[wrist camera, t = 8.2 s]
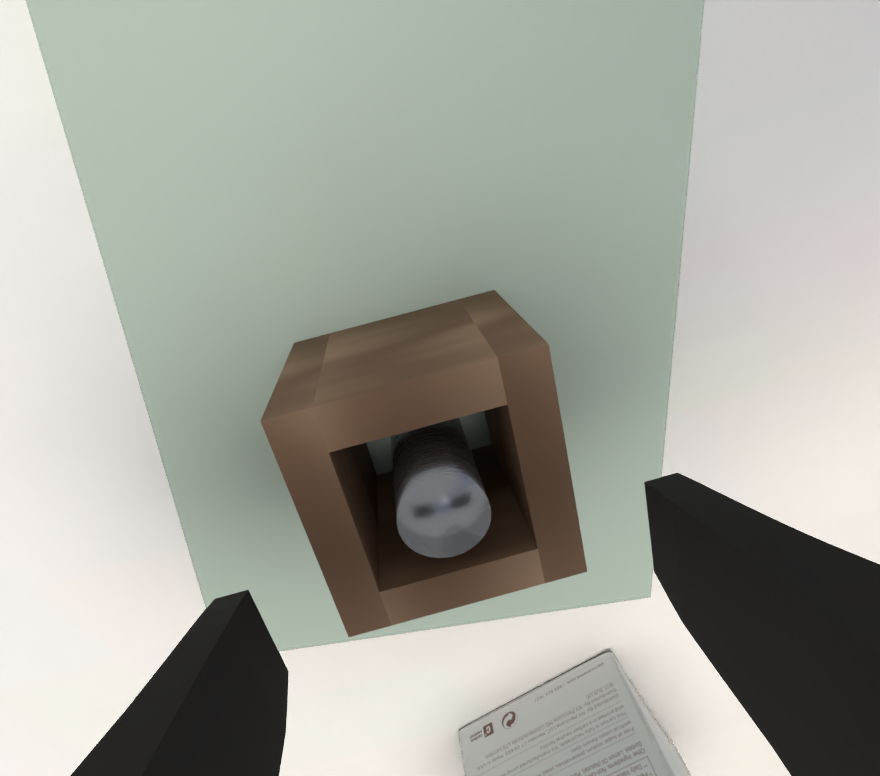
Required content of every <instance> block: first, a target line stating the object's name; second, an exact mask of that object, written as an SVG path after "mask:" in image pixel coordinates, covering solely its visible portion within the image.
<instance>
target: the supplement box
mask: <svg viewBox="0 0 880 776" xmlns="http://www.w3.org/2000/svg"><path fill="white" fill-rule="evenodd" d="M459 740H460V746H461V752H462V759H463V765H464V771H465V776H691V774H690V773H689V771H688V769H687V767H686V765H685V763H684V761H683V759H682V758H681V756H680V754H679V752H678V750H677V749H676V747H675V746H674V744H673V743H672V742H671V740H670V739H669V738H668V737H667V735H666V734H665V733H664V731H663V730H662V729H661V727H660V726H659V725H658V723H657V722H656V720H655V719H654V717H653V716H652V714H651V713H650V711H649V710H648V708H647V707H646V705H645V704H644V702H643V701H642V699H641V698H640V696H639V695H638V693H637V692H636V690H635V689H634V687H633V685H632V684H631V682H630V681H629V679H628V677H627V676H626V674H625V672H624V671H623V669H622V668H621V666H620V664H619V663H618V661H617V659H616V657H615V656H614V654H613V653H612V652H608V653H603V654H601V655H599V656H598V657H596V658H594V659H591V660H589V661H587V662H585V663H583V664H581V665H579V666H577V667H576V668H574V669H572V670H570V671H568V672H566V673H564V674H562V675H560V676H559V677H557V678H555V679H553V680H551V681H549V682H547V683H545V684H543V685H541V686H539V687H537V688H536V689H534V690H532V691H530V692H528V693H526V694H524V695H522V696H520V697H519V698H517V699H515V700H513V701H511V702H509V703H507V704H505V705H504V706H502V707H500V708H498V709H496V710H494V711H492V712H491V713H489V714H487V715H485V716H483V717H481V718H479V719H478V720H476V721H474V722H472V723H470V724H469V725H467V726H465V727H464V728H462V729H461V730H460V731H459Z"/></svg>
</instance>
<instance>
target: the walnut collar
mask: <svg viewBox="0 0 880 776" xmlns="http://www.w3.org/2000/svg"><path fill="white" fill-rule="evenodd" d="M482 411H484V412H485V416H486V420H487V425H488V429H489V433H490V438H491V442H492V444H491V445H488V446H484V447H480V448H476V449H473V450H471V452H472V455H473V458H474V461H475V464H476V466H477V469H478V472H479V475H480V478H481V481H482V483H483V486H484V489H485V492H486V495H487V498H488V500H489V503H490V507H491V522H490V525H489V528H488V530H487V532H486V534H485V535H484V537H483V538H482V539H481V541H480V542H479V543H478V544H476V545H475V546H474V547H473V548H471V549H470V550H468V551H466V552H464V553H462V554H460V555H456V556H453V557H447V558H434V557H428V556H424V555H422V554H419V553H417V552H415V551H414V550H412V549H411V548H409V547H408V546H407V545H406V544H405V542H404V541H403V540H402V538H401V536H400V534H399V532H398V528H397V519H396V506H395V493H394V479H393V471H391V472H388V473H384V474H380V475H377V474H376V471H375V468H374V465H373V462H372V459H371V456H370V453H369V450H368V447H367V444H366V442H370V441H374V440H378V439H381V438H385V437H389V436H392V435H396V434H400V433H404V432H407V431H411V430H415V429H418V428H422V427H426V426H430V425H433V424H437V423H441V422H444V421H448V420H452V419H456V418H459V417H463V416H467V415H471V414H474V413H478V412H482ZM260 422H261V424H262V427H263V429H264V431H265V434H266V436H267V439H268V441H269V444H270V446H271V449H272V451H273V453H274V456H275V458H276V461H277V463H278V466H279V468H280V471H281V473H282V475H283V478H284V480H285V483H286V485H287V488H288V490H289V493H290V495H291V498H292V500H293V502H294V505H295V507H296V510H297V512H298V515H299V517H300V520H301V522H302V524H303V527H304V529H305V532H306V534H307V537H308V539H309V542H310V544H311V546H312V549H313V551H314V554H315V556H316V559H317V561H318V564H319V566H320V568H321V571H322V573H323V576H324V578H325V581H326V583H327V586H328V588H329V591H330V593H331V595H332V598H333V600H334V603H335V605H336V608H337V610H338V613H339V615H340V617H341V620H342V622H343V625H344V627H345V630H346V632H347V635H348V637H352V636H356V635H359V634H363V633H367V632H370V631H374V630H378V629H381V628H385V627H388V626H392V625H396V624H399V623H403V622H407V621H410V620H414V619H418V618H421V617H425V616H428V615H432V614H436V613H439V612H443V611H447V610H450V609H454V608H458V607H461V606H465V605H468V604H472V603H476V602H479V601H483V600H487V599H490V598H494V597H497V596H501V595H505V594H508V593H512V592H516V591H519V590H523V589H527V588H530V587H534V586H537V585H541V584H545V583H548V582H552V581H556V580H559V579H563V578H567V577H570V576H574V575H577V574H581V573H585V572H587V566H586V560H585V554H584V548H583V543H582V537H581V531H580V525H579V519H578V513H577V507H576V501H575V495H574V490H573V484H572V478H571V472H570V466H569V460H568V454H567V448H566V442H565V437H564V431H563V425H562V419H561V413H560V407H559V401H558V395H557V389H556V384H555V378H554V372H553V366H552V360H551V354H550V348H549V344H548V343H547V342H546V341H545V340H544V339H543V338H542V337H541V336H540V335H539V334H538V333H537V332H536V331H535V330H534V329H533V328H532V327H531V326H530V325H529V324H528V323H527V322H526V321H525V320H524V319H523V318H522V317H521V316H520V315H519V314H518V313H517V312H516V311H515V310H514V309H513V308H512V307H511V306H510V305H509V304H508V303H507V302H506V301H505V300H504V299H503V298H502V297H501V296H500V295H499V294H498V293H497V292H496V291H495V290H492V291H488V292H484V293H480V294H476V295H473V296H469V297H465V298H461V299H458V300H454V301H450V302H446V303H443V304H439V305H435V306H431V307H427V308H424V309H420V310H416V311H412V312H409V313H405V314H401V315H397V316H393V317H390V318H386V319H382V320H378V321H375V322H371V323H367V324H363V325H359V326H356V327H352V328H348V329H344V330H341V331H337V332H333V333H329V334H325V335H322V336H318V337H314V338H310V339H307V340H303V341H299V342H295V343H294V344H293V346H292V349H291V351H290V353H289V356H288V358H287V360H286V363H285V365H284V367H283V370H282V372H281V374H280V376H279V379H278V381H277V383H276V386H275V388H274V390H273V393H272V395H271V397H270V400H269V402H268V404H267V407H266V409H265V411H264V414H263V416H262V418H261V421H260Z"/></svg>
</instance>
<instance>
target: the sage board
mask: <svg viewBox="0 0 880 776" xmlns="http://www.w3.org/2000/svg"><path fill="white" fill-rule="evenodd" d="M26 3H27V6H28V10H29V13H30V16H31V20H32V23H33V27H34V30H35V33H36V37H37V40H38V43H39V47H40V50H41V54H42V57H43V60H44V64H45V67H46V70H47V74H48V77H49V81H50V84H51V87H52V91H53V94H54V97H55V101H56V104H57V108H58V111H59V114H60V118H61V121H62V124H63V128H64V131H65V134H66V138H67V141H68V145H69V148H70V151H71V155H72V158H73V161H74V165H75V168H76V172H77V175H78V178H79V182H80V185H81V188H82V192H83V195H84V199H85V202H86V205H87V209H88V212H89V215H90V219H91V222H92V226H93V229H94V232H95V236H96V239H97V242H98V246H99V249H100V253H101V256H102V259H103V263H104V266H105V269H106V273H107V276H108V279H109V283H110V286H111V290H112V293H113V296H114V300H115V303H116V306H117V310H118V313H119V317H120V320H121V323H122V327H123V330H124V333H125V337H126V340H127V344H128V347H129V350H130V354H131V357H132V360H133V364H134V367H135V371H136V374H137V377H138V381H139V384H140V387H141V391H142V394H143V398H144V401H145V404H146V408H147V411H148V414H149V418H150V421H151V424H152V428H153V431H154V435H155V438H156V441H157V445H158V448H159V451H160V455H161V458H162V462H163V465H164V468H165V472H166V475H167V478H168V482H169V485H170V489H171V492H172V495H173V499H174V502H175V505H176V509H177V512H178V516H179V519H180V522H181V526H182V529H183V532H184V536H185V539H186V543H187V546H188V549H189V553H190V556H191V559H192V563H193V566H194V569H195V573H196V576H197V580H198V583H199V586H200V590H201V593H202V596H203V600H204V603H205V607H206V608H207V607H208V606H209V605H210V604H211V603H212V601H213V600H214V599H216V598H219V597H223V596H227V595H230V594H234V593H238V592H241V591H245V590H249V592H250V594H251V596H252V598H253V600H254V602H255V604H256V606H257V608H258V610H259V612H260V614H261V617H262V619H263V621H264V623H265V625H266V627H267V629H268V631H269V633H270V635H271V637H272V639H273V641H274V643H275V645H276V647H277V649H278V651H285V650H292V649H299V648H306V647H313V646H319V645H326V644H333V643H340V642H347V641H354V640H361V639H367V638H374V637H381V636H388V635H395V634H402V633H409V632H415V631H422V630H429V629H436V628H443V627H450V626H457V625H463V624H470V623H477V622H484V621H491V620H498V619H505V618H511V617H518V616H525V615H532V614H539V613H546V612H553V611H559V610H566V609H573V608H580V607H587V606H594V605H601V604H607V603H614V602H621V601H628V600H635V599H642V598H648V597H651V587H652V575H653V557H652V548H651V539H650V530H649V521H648V512H647V503H646V494H645V485H644V482H646V481H649V480H653V479H657V478H660V477H661V475H662V464H663V453H664V442H665V430H666V419H667V408H668V397H669V386H670V375H671V364H672V352H673V341H674V330H675V319H676V308H677V297H678V286H679V274H680V263H681V252H682V241H683V230H684V219H685V207H686V196H687V185H688V174H689V163H690V152H691V141H692V129H693V118H694V107H695V96H696V85H697V74H698V63H699V51H700V40H701V29H702V18H703V7H704V0H26ZM492 290H495V291H496V292H497V293H498V294H499V295H500V296H501V297H502V298H503V299H504V300H505V301H506V302H507V303H508V304H509V305H510V306H511V307H512V308H513V309H514V310H515V311H516V312H517V313H518V314H519V315H520V316H521V317H522V318H523V319H524V320H525V321H526V322H527V323H528V324H529V325H530V326H531V327H532V328H533V329H534V330H535V331H536V332H537V333H538V334H539V335H540V336H541V337H542V338H543V339H544V340H545V341H546V342H547V343H548V344H549V348H550V354H551V360H552V366H553V372H554V378H555V384H556V389H557V395H558V401H559V407H560V413H561V419H562V425H563V431H564V437H565V442H566V448H567V454H568V460H569V466H570V472H571V478H572V484H573V490H574V495H575V501H576V507H577V513H578V519H579V525H580V531H581V537H582V543H583V548H584V554H585V560H586V566H587V572H585V573H581V574H577V575H574V576H570V577H567V578H563V579H559V580H556V581H552V582H548V583H545V584H541V585H537V586H534V587H530V588H527V589H523V590H519V591H516V592H512V593H508V594H505V595H501V596H497V597H494V598H490V599H487V600H483V601H479V602H476V603H472V604H468V605H465V606H461V607H458V608H454V609H450V610H447V611H443V612H439V613H436V614H432V615H428V616H425V617H421V618H418V619H414V620H410V621H407V622H403V623H399V624H396V625H392V626H388V627H385V628H381V629H378V630H374V631H370V632H367V633H363V634H359V635H356V636H352V637H348V635H347V632H346V630H345V627H344V625H343V622H342V620H341V617H340V615H339V613H338V610H337V608H336V605H335V603H334V600H333V598H332V595H331V593H330V591H329V588H328V586H327V583H326V581H325V578H324V576H323V573H322V571H321V568H320V566H319V564H318V561H317V559H316V556H315V554H314V551H313V549H312V546H311V544H310V542H309V539H308V537H307V534H306V532H305V529H304V527H303V524H302V522H301V520H300V517H299V515H298V512H297V510H296V507H295V505H294V502H293V500H292V498H291V495H290V493H289V490H288V488H287V485H286V483H285V480H284V478H283V475H282V473H281V471H280V468H279V466H278V463H277V461H276V458H275V456H274V453H273V451H272V449H271V446H270V444H269V441H268V439H267V436H266V434H265V431H264V429H263V427H262V424H261V422H260V421H261V418H262V416H263V414H264V411H265V409H266V407H267V404H268V402H269V400H270V397H271V395H272V393H273V390H274V388H275V386H276V383H277V381H278V379H279V376H280V374H281V372H282V370H283V367H284V365H285V363H286V360H287V358H288V356H289V353H290V351H291V349H292V346H293V344H294V343H295V342H299V341H303V340H307V339H310V338H314V337H318V336H322V335H325V334H329V333H333V332H337V331H341V330H344V329H348V328H352V327H356V326H359V325H363V324H367V323H371V322H375V321H378V320H382V319H386V318H390V317H393V316H397V315H401V314H405V313H409V312H412V311H416V310H420V309H424V308H427V307H431V306H435V305H439V304H443V303H446V302H450V301H454V300H458V299H461V298H465V297H469V296H473V295H476V294H480V293H484V292H488V291H492ZM459 418H460V421H461V424H462V427H463V430H464V433H465V435H466V438H467V441H468V444H469V447H470V450H473V449H476V448H480V447H484V446H488V445H491V444H492V442H491V438H490V433H489V429H488V425H487V420H486V416H485V412H484V411H482V412H478V413H474V414H471V415H467V416H463V417H459ZM366 444H367V447H368V450H369V453H370V456H371V459H372V462H373V465H374V468H375V471H376V474H377V475H380V474H384V473H388V472H391V471H393V466H392V452H391V439H390V436H389V437H385V438H381V439H378V440H374V441H370V442H366Z"/></svg>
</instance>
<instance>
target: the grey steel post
mask: <svg viewBox="0 0 880 776" xmlns="http://www.w3.org/2000/svg"><path fill="white" fill-rule="evenodd" d="M390 439H391V452H392V466H393V479H394V493H395V506H396V519H397V528H398V532H399V534H400V536H401V538H402V540H403V541H404V542H405V544H406V545H407V546H408V547H409V548H411V549H412V550H414V551H415V552H417V553H419V554H422V555H424V556H428V557H434V558H447V557H453V556H456V555H460V554H462V553H464V552H466V551H468V550H470V549H471V548H473V547H474V546H475V545H476V544H478V543H479V542H480V541H481V539H482V538H483V537H484V535H485V534H486V532H487V530H488V528H489V525H490V522H491V507H490V503H489V500H488V498H487V495H486V492H485V489H484V486H483V483H482V481H481V478H480V475H479V472H478V469H477V466H476V464H475V461H474V458H473V455H472V452H471V450H470V447H469V444H468V441H467V438H466V435H465V433H464V430H463V427H462V424H461V421H460V418H456V419H452V420H448V421H444V422H441V423H437V424H433V425H430V426H426V427H422V428H418V429H415V430H411V431H407V432H404V433H400V434H396V435H392V436H390Z"/></svg>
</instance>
